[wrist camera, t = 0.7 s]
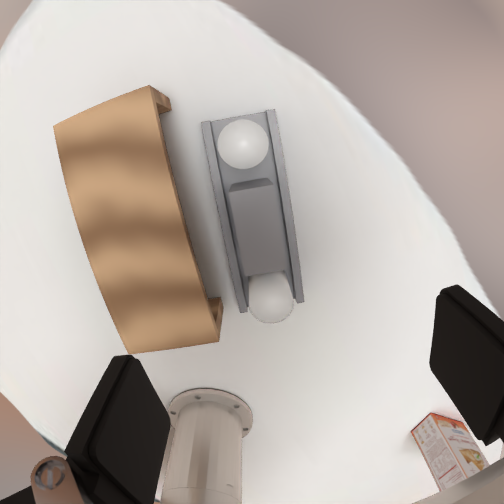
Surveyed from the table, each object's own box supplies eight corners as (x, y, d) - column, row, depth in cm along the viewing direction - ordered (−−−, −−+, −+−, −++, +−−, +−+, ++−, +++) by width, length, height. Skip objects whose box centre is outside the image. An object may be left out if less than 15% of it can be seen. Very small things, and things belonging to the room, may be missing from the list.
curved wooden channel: (223, 307, 36) (219, 341, 29) (145, 321, 36) (128, 354, 30) (169, 98, 28) (149, 85, 22) (86, 128, 29) (53, 125, 22)
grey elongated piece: (300, 291, 36) (314, 330, 28) (240, 301, 36) (239, 343, 28) (272, 112, 29) (281, 99, 21) (204, 124, 30) (190, 115, 22)
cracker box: (463, 420, 46) (504, 487, 26) (444, 438, 48) (480, 507, 28) (431, 410, 44) (478, 493, 24) (409, 431, 45) (448, 515, 26)
